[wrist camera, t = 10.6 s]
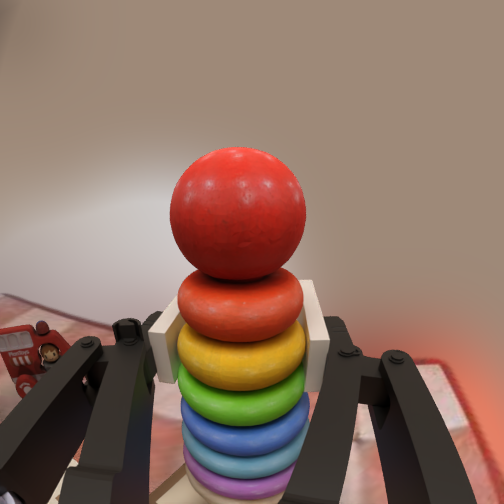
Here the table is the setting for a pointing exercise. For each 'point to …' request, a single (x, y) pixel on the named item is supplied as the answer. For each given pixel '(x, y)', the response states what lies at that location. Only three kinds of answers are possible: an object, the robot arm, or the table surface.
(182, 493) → the pedestal
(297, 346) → the stacking toy
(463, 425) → the table surface
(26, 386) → the toy fire truck
